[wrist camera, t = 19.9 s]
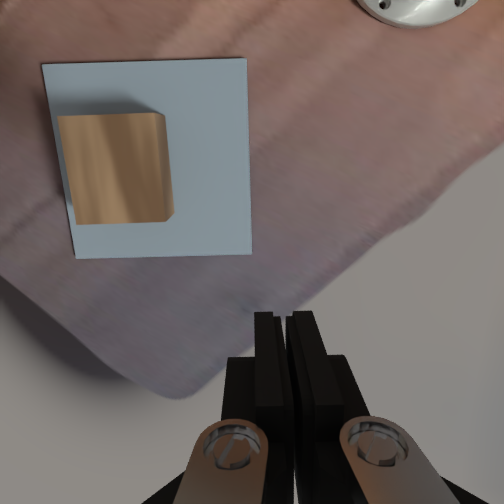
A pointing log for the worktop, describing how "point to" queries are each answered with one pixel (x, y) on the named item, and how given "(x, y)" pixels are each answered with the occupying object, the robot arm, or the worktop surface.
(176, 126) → the rubber mat
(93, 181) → the wooden block
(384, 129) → the worktop surface
